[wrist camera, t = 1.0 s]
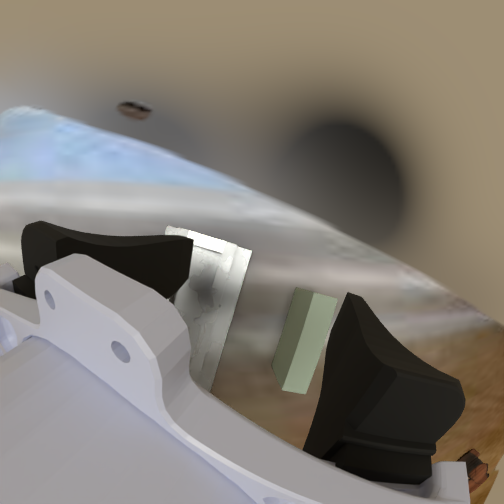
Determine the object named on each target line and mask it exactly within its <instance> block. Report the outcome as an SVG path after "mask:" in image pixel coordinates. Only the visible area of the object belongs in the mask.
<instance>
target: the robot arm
mask: <svg viewBox="0 0 504 504" xmlns="http://www.w3.org/2000/svg"><path fill="white" fill-rule="evenodd" d="M193 245H194V239H191V238H188V237H185V236H181V235H154V236H107V235H98V234H91V233H84V232H79V231H75V230H70V229H67V228H63V227H60V226H57V225H53V224H50V223H47V222H45V221H38V222H34V223H31V224H28V225H26V226H25V228H24V230H23V233H22V239H21V247H22V256H23V264H24V271H25V274H26V275H23V276H21V277H20V276H19V274H18V272H17V271H16V270H15V269H14V268H13V267H12V266H11V265H10V264H9V263H8V262H7V263H5V264H2V265H0V504H470V495H469V485H468V476H467V469H466V462H454V461H441V462H437V463H434V464H431V456H433V455H434V454H435V453H436V442H437V441H438V440H439V439H440V438H441V437H442V436H443V435H444V434H445V433H446V432H447V431H448V430H449V429H450V428H451V427H452V426H453V425H454V424H455V422H456V421H457V420H458V419H459V417H460V416H461V414H462V412H463V410H464V408H465V396H464V393H463V390H462V387H461V384H460V381H459V380H458V379H456V378H454V377H451V376H449V375H447V374H445V373H443V372H441V371H439V370H437V369H435V368H434V367H432V366H430V365H429V364H427V363H425V362H424V361H422V360H421V359H420V358H418V357H417V356H415V355H414V354H413V353H412V352H410V351H409V350H408V349H406V348H405V347H404V346H403V345H402V344H401V343H400V342H399V341H398V340H397V339H396V338H394V337H393V336H392V335H391V333H390V332H389V331H388V330H387V329H386V328H385V327H384V325H383V324H382V323H381V322H380V321H379V319H378V318H377V317H376V315H375V314H374V313H373V311H372V310H371V309H370V307H369V306H368V304H367V303H366V302H365V301H364V299H363V298H362V297H361V296H358V295H355V294H352V293H349V292H347V295H346V297H345V300H344V302H343V304H342V307H341V309H340V311H339V314H338V316H337V318H336V321H335V323H334V325H333V327H332V330H331V333H330V336H329V340H328V344H327V348H326V356H325V365H324V373H323V381H322V388H321V394H320V398H319V402H318V405H317V409H316V412H315V415H314V418H313V422H312V425H311V428H310V431H309V434H308V436H307V439H306V442H305V445H304V447H303V450H301V449H299V448H297V447H295V446H293V445H291V444H289V443H288V442H286V441H284V440H282V439H281V438H279V437H277V436H275V435H274V434H272V433H270V432H269V431H267V430H265V429H264V428H262V427H260V426H259V425H257V424H255V423H254V422H252V421H251V420H249V419H248V418H246V417H244V416H243V415H241V414H240V413H238V412H237V411H235V410H234V409H232V408H231V407H229V406H228V405H226V404H225V403H224V402H222V401H221V400H219V399H218V398H216V397H215V396H214V395H212V394H211V393H210V392H208V391H207V390H205V389H204V388H203V387H201V386H200V385H199V384H197V383H196V382H195V381H194V380H193V379H192V378H191V376H190V374H189V361H190V353H191V344H190V338H189V332H188V327H187V325H186V323H185V322H184V320H183V319H182V317H181V316H180V314H179V313H178V311H177V309H176V308H175V306H174V305H173V304H172V303H171V302H169V301H168V300H167V299H168V298H170V297H171V296H172V295H173V294H175V293H176V292H177V291H178V290H179V289H180V288H181V287H182V286H183V285H184V283H185V282H186V281H187V280H188V279H189V273H190V266H191V259H192V252H193Z"/></svg>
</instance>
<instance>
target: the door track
mask: <svg viewBox="0 0 504 504" xmlns="http://www.w3.org/2000/svg"><path fill="white" fill-rule="evenodd" d="M165 235H181V236H185V237H188V238H191V239H194V245H193V252H192V259H191V266H190V273H189V279H188V280H187V281H186V282H185V283H184V285H183V286H182V287H181V288H180V289H179V290H178V291H177V292H176V293H175V294H173V295H172V296H171V297H170V298H168V299H167V300H168V301H169V302H171V303H172V304H173V305H174V306H175V308H176V309H177V311H178V313H179V314H180V316H181V317H182V319H183V320H184V322H185V323H186V325H187V327H188V332H189V338H190V344H191V353H190V361H189V374H190V376H191V378H192V379H193V380H194V381H195V382H196V383H197V384H199V385H200V386H201V387H203V388H204V389H205V390H207V391H208V392H210V391H211V388H212V384H213V381H214V377H215V374H216V371H217V367H218V364H219V361H220V357H221V354H222V350H223V347H224V344H225V340H226V337H227V334H228V330H229V327H230V323H231V320H232V317H233V313H234V310H235V306H236V303H237V300H238V296H239V293H240V290H241V286H242V283H243V279H244V276H245V273H246V269H247V266H248V263H249V259H250V256H251V252H252V251H251V250H247V249H244V248H241V247H237V245H236V244H232V243H229V242H226V241H223V240H219V239H216V238H213V237H209V236H206V235H202V234H199V233H196V232H192V231H189V230H186V229H182V228H179V227H178V229H177V228H174V227H171V226H167V228H166V232H165Z"/></svg>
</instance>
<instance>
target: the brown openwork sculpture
mask: <svg viewBox="0 0 504 504" xmlns="http://www.w3.org/2000/svg"><path fill="white" fill-rule="evenodd" d="M479 455H480V454H479V452H477V451H476V450H475V449H473V450H471V451H470V452H469V453H468V454H466V455H465V456H463V457H462V458H461V459H460V460H458V461H457V462H466V469H467V476H468V477H469V478H470V479H468V485H469V494H470V493H472V492H473V491H474V490H476V489H477V488H478V487H479V486H480V485H481V484H482V483H483V482H484V481H485V480H486V479H487V478H488V477H489V474H487V471H488V464H485V463H483V462H482V461H481V460H480V459H478V456H479Z"/></svg>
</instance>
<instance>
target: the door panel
mask: <svg viewBox="0 0 504 504" xmlns="http://www.w3.org/2000/svg"><path fill="white" fill-rule="evenodd" d="M337 300H338V299H336V298H333V297H329V296H325V295H322V294H318V293H315V292H311V291H308V290H304V289H300V288H297V287H296V289H295V292H294V296H293V299H292V303H291V306H290V309H289V312H288V316H287V319H286V322H285V325H284V328H283V332H282V335H281V338H280V341H279V344H278V347H277V350H276V353H275V356H274V359H273V362H272V365H271V366H272V368H273V370H274V373H275V375H276V377H277V380H278V382H279V384H280V387H281V389H282V390H284V391H290V392H295V393H301V394H306V392H307V389H308V387H309V384H310V381H311V379H312V376H313V373H314V371H315V368H316V365H317V362H318V360H319V357H320V354H321V351H322V348H323V345H324V342H325V339H326V336H327V333H328V330H329V327H330V323H331V320H332V317H333V314H334V310H335V307H336V304H337Z"/></svg>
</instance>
